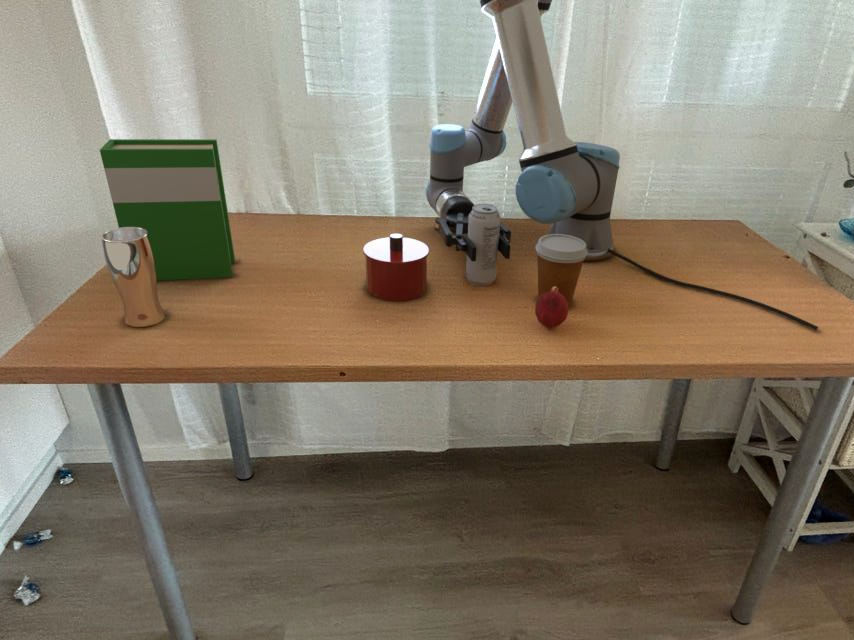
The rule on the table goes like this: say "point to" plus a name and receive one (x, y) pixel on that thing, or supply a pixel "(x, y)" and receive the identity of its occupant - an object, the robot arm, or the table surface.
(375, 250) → the pot lid
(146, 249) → the beer glass
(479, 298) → the table surface
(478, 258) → the energy drink can
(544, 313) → the onion
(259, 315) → the table surface
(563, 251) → the disposable coffee cup
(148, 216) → the hardback book
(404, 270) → the pot
